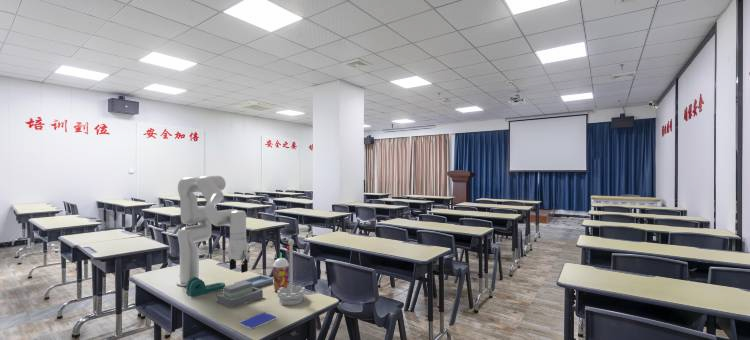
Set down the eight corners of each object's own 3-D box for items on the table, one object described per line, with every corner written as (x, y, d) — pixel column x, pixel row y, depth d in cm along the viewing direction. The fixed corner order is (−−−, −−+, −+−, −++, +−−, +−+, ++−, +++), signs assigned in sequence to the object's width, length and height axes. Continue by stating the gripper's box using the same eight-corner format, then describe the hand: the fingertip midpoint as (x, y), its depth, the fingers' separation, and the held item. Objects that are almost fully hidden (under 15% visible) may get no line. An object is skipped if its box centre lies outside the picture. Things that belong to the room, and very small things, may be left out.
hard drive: (264, 311, 155) (239, 322, 145) (276, 316, 151) (251, 327, 141) (264, 315, 155) (239, 325, 145) (276, 319, 151) (251, 331, 141)
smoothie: (271, 289, 187) (271, 251, 187) (287, 287, 191) (287, 250, 190) (273, 294, 180) (273, 255, 179) (290, 292, 183) (290, 253, 183)
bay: (216, 301, 169) (216, 294, 169) (247, 291, 183) (247, 285, 183) (231, 308, 162) (231, 300, 162) (262, 297, 176) (262, 290, 176)
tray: (234, 287, 190) (234, 282, 190) (261, 279, 204) (261, 274, 204) (246, 291, 184) (246, 286, 184) (273, 282, 197) (273, 278, 197)
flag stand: (310, 300, 171) (310, 239, 171) (286, 308, 162) (286, 243, 162) (295, 293, 181) (295, 235, 180) (272, 300, 172) (272, 239, 171)
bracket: (190, 297, 176) (190, 281, 176) (186, 293, 181) (186, 278, 181) (227, 288, 188) (227, 274, 188) (222, 285, 193) (222, 271, 193)
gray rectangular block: (223, 301, 170) (223, 287, 170) (245, 294, 180) (245, 280, 180) (230, 304, 167) (230, 289, 167) (252, 296, 177) (252, 282, 177)
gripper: (221, 235, 175) (221, 269, 175) (241, 238, 165) (242, 275, 165) (234, 233, 181) (235, 266, 181) (255, 236, 171) (255, 271, 171)
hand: (238, 270), depth 173 cm, fingers open, 9 cm apart
